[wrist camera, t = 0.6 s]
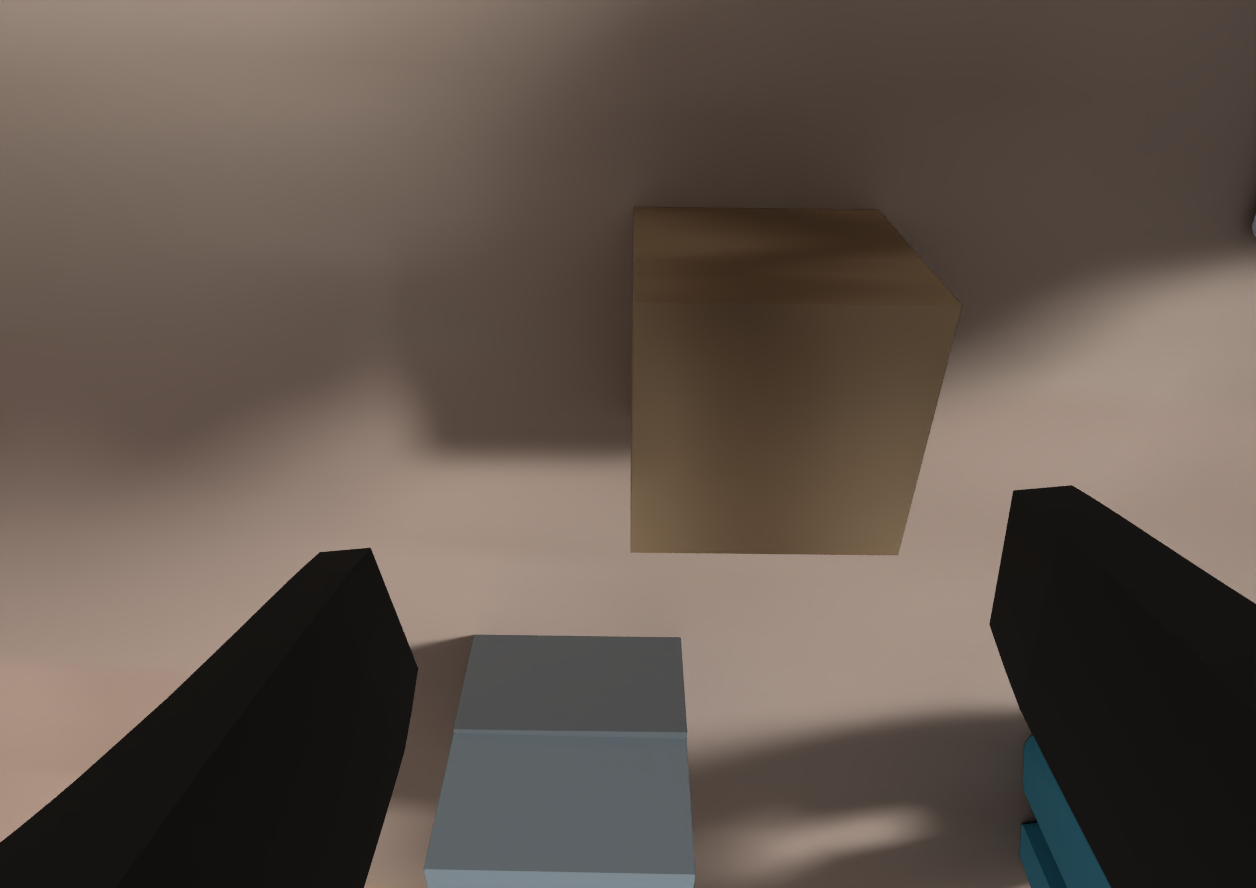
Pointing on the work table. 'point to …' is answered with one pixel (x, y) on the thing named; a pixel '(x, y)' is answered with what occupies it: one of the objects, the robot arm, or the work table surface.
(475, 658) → the tower base
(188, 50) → the work table surface
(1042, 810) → the block
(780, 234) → the walnut cube
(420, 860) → the work table surface
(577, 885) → the tower middle
